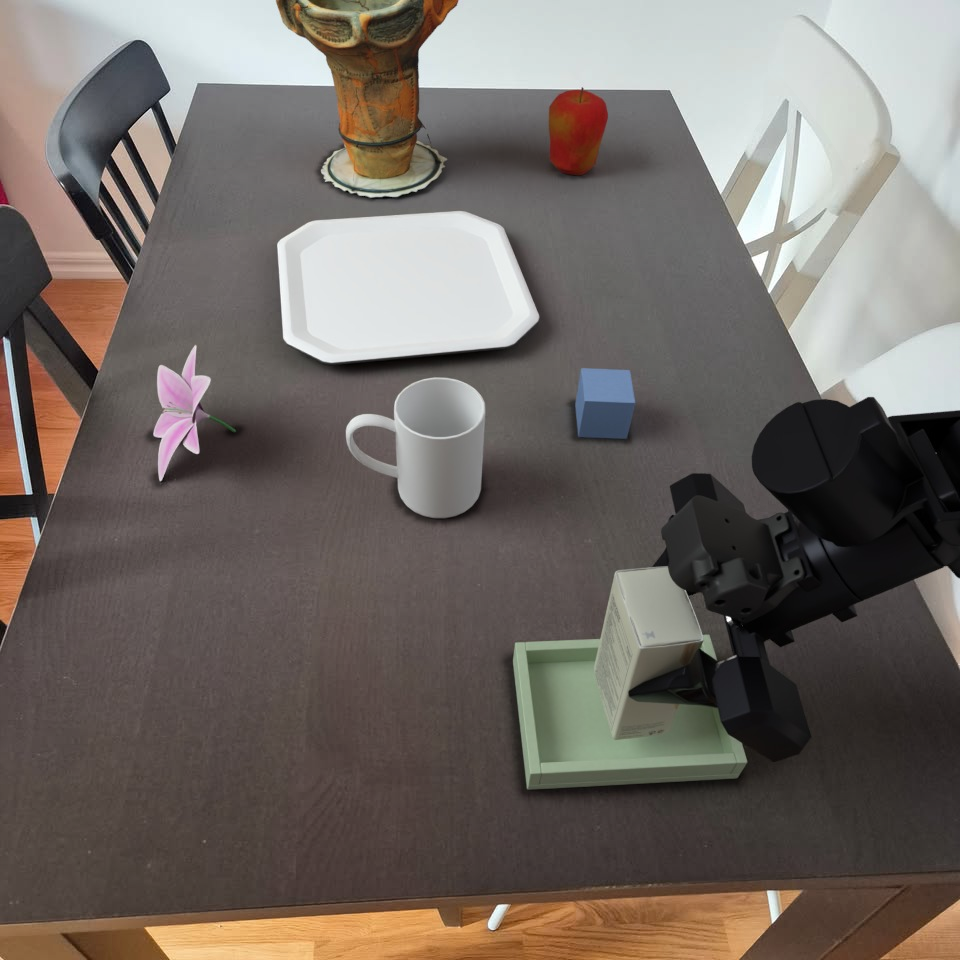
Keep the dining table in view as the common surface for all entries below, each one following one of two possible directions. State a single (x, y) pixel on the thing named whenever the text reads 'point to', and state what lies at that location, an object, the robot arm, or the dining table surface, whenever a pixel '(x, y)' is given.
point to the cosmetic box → (643, 647)
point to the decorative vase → (374, 87)
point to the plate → (401, 288)
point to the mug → (432, 446)
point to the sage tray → (606, 727)
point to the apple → (576, 130)
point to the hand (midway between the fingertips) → (625, 652)
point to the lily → (180, 410)
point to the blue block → (604, 403)
